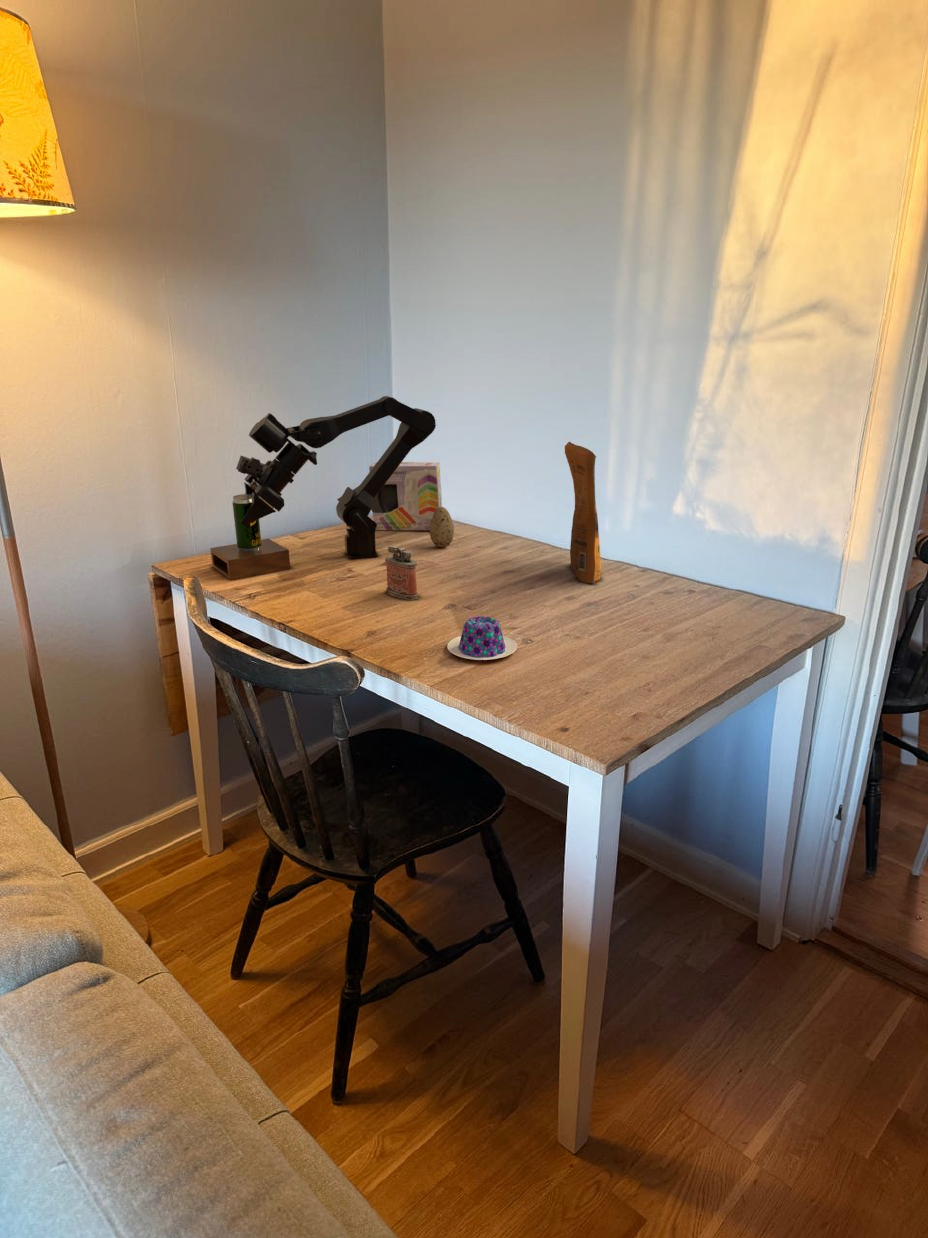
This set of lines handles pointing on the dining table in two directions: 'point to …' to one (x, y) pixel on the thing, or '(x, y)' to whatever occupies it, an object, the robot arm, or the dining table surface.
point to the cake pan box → (408, 497)
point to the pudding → (482, 640)
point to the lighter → (401, 574)
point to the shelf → (250, 560)
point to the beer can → (249, 533)
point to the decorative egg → (441, 528)
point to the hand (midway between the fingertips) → (239, 520)
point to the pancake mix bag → (584, 515)
